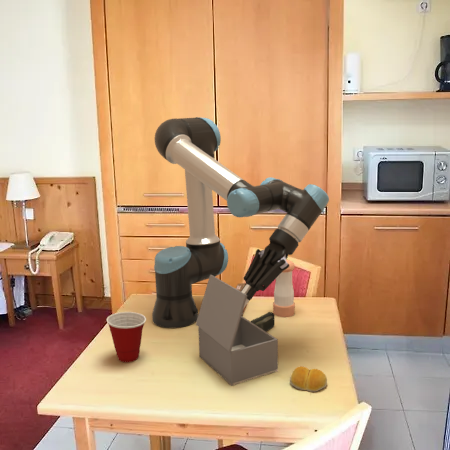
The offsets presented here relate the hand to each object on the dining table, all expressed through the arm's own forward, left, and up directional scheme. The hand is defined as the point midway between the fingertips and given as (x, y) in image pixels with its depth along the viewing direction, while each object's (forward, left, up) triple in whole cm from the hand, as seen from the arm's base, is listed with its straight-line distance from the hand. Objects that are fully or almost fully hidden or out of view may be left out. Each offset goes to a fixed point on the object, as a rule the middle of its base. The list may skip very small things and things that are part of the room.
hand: (237, 307), depth 135 cm
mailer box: (-1, 0, -17) cm, 17 cm away
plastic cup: (-20, -24, -17) cm, 35 cm away
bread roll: (+17, +10, -17) cm, 26 cm away
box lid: (-1, -4, 0) cm, 4 cm away
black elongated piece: (-14, +16, -17) cm, 28 cm away
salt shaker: (-23, +31, -17) cm, 42 cm away
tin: (-33, +20, -17) cm, 42 cm away
